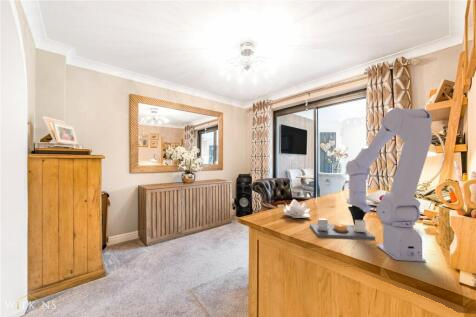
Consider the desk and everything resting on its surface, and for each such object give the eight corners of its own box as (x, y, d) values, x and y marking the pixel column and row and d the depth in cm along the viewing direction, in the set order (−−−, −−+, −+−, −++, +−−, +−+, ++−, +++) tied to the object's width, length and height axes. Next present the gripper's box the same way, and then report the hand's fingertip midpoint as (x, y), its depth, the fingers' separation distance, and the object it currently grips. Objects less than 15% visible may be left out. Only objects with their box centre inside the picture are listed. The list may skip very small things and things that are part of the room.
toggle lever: (366, 232, 74) (366, 221, 74) (356, 231, 74) (356, 221, 74) (363, 229, 76) (363, 219, 76) (353, 229, 77) (353, 219, 77)
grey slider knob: (328, 230, 75) (328, 220, 75) (318, 230, 75) (318, 220, 75) (326, 228, 77) (326, 218, 77) (317, 228, 78) (317, 218, 78)
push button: (348, 232, 74) (348, 227, 74) (336, 231, 75) (336, 227, 75) (344, 228, 78) (344, 224, 78) (332, 227, 79) (332, 223, 79)
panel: (375, 240, 70) (375, 236, 70) (317, 237, 73) (317, 233, 73) (358, 228, 82) (358, 225, 82) (309, 226, 85) (309, 223, 85)
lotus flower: (312, 214, 103) (312, 198, 103) (310, 223, 89) (310, 204, 89) (285, 211, 109) (285, 196, 109) (279, 219, 95) (279, 201, 95)
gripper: (379, 194, 70) (379, 232, 69) (359, 188, 84) (359, 220, 84) (358, 194, 70) (358, 231, 70) (341, 188, 85) (341, 219, 85)
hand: (357, 225), depth 77 cm, fingers closed
